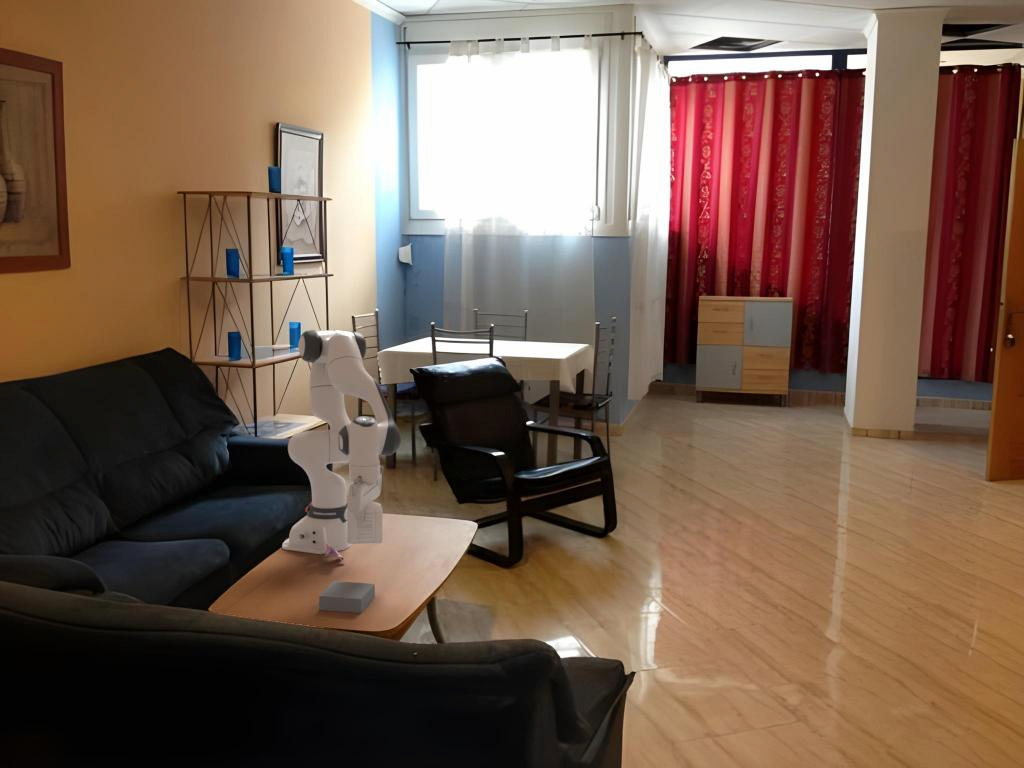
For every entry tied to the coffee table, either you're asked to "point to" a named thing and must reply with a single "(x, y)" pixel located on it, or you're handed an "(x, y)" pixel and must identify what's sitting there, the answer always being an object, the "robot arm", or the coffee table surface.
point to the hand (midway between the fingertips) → (364, 518)
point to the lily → (331, 551)
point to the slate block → (347, 597)
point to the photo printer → (365, 525)
